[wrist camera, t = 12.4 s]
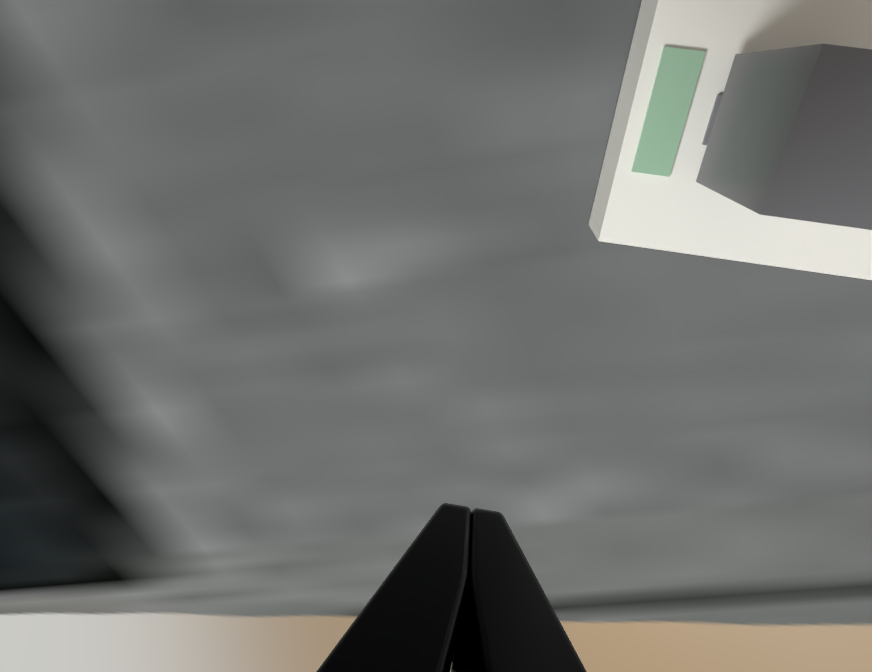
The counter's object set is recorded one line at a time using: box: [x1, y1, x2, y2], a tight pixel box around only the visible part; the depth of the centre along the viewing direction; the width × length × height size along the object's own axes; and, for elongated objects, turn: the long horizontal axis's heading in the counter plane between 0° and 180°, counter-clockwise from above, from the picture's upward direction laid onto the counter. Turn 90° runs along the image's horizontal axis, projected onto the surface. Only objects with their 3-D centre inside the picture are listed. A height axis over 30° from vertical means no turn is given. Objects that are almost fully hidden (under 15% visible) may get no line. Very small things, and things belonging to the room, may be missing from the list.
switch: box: [696, 44, 872, 230], centre depth 12 cm, size 3×3×4 cm
